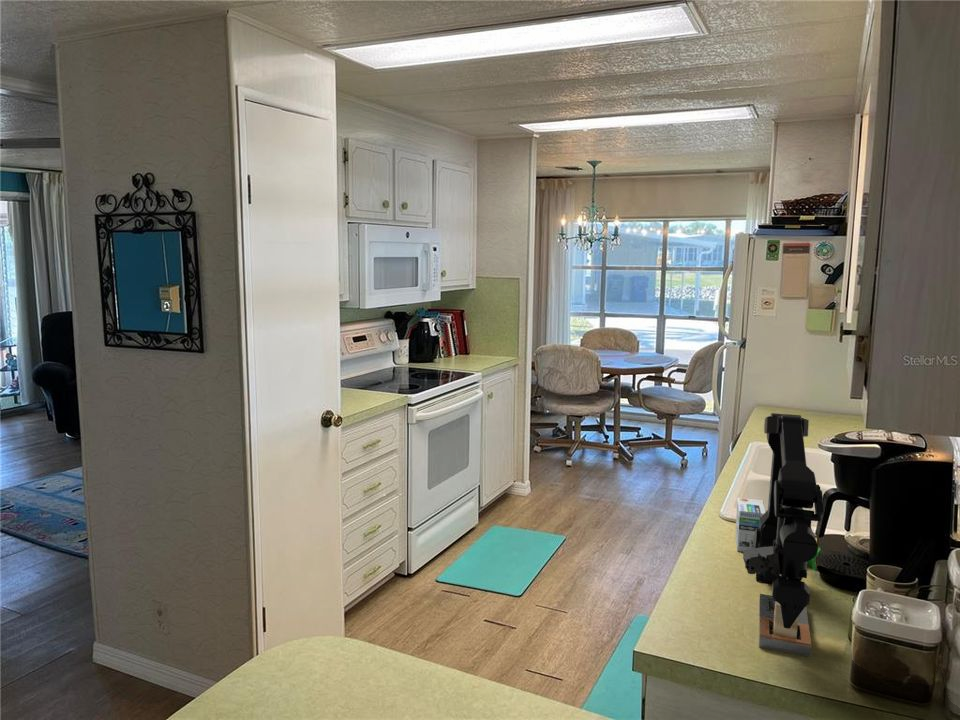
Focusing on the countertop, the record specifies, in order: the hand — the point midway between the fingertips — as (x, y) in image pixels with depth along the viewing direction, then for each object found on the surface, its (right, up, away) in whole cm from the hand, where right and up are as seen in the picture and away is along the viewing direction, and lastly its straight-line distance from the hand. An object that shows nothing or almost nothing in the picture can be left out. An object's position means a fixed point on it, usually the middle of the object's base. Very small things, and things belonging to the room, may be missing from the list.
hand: (785, 616), depth 141 cm
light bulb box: (+10, +2, +46) cm, 47 cm away
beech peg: (0, -5, +1) cm, 5 cm away
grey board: (+2, -4, +5) cm, 7 cm away
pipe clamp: (+20, 0, +35) cm, 40 cm away
